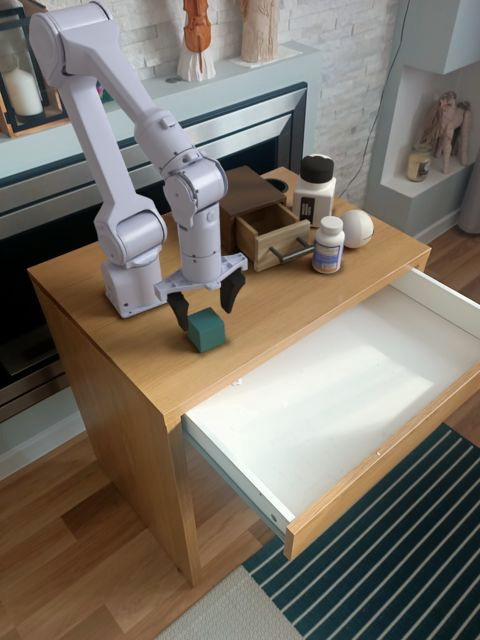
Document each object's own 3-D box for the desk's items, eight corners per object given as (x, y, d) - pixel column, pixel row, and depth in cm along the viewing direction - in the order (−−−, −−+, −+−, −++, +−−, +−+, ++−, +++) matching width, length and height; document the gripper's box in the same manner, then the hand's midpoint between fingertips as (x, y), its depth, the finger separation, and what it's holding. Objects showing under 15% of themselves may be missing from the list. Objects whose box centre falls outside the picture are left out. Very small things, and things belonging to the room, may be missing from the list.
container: (328, 229, 114) (335, 170, 104) (291, 224, 115) (295, 165, 105) (332, 210, 119) (339, 152, 110) (296, 205, 120) (301, 147, 111)
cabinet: (284, 234, 112) (286, 196, 106) (231, 253, 107) (230, 214, 101) (246, 202, 120) (246, 165, 114) (195, 218, 115) (192, 180, 109)
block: (201, 353, 88) (199, 332, 85) (187, 336, 91) (185, 316, 87) (225, 342, 90) (224, 322, 87) (211, 326, 92) (210, 306, 89)
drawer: (322, 265, 104) (326, 234, 99) (272, 285, 99) (273, 254, 94) (268, 220, 114) (269, 190, 109) (220, 236, 110) (219, 205, 105)
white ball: (355, 260, 106) (361, 227, 101) (325, 244, 110) (329, 211, 105) (386, 240, 111) (393, 208, 106) (356, 225, 115) (362, 193, 110)
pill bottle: (321, 254, 108) (326, 209, 101) (345, 264, 105) (352, 219, 99) (306, 267, 104) (310, 222, 98) (330, 278, 102) (337, 233, 95)
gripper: (165, 277, 72) (175, 351, 82) (259, 244, 78) (257, 316, 87) (142, 251, 76) (154, 323, 86) (233, 220, 82) (234, 292, 91)
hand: (205, 318), depth 87 cm, fingers open, 7 cm apart
